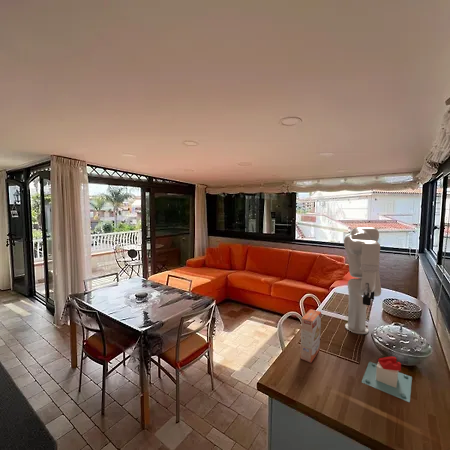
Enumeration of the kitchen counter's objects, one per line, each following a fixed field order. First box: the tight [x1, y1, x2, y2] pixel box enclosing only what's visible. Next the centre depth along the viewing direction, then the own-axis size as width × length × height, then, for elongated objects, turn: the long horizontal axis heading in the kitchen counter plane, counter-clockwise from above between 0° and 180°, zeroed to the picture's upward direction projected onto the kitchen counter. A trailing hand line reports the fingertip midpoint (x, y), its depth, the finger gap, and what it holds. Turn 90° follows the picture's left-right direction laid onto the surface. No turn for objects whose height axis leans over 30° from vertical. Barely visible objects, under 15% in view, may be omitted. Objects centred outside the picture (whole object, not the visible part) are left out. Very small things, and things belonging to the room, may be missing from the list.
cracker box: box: [299, 309, 322, 363], centre depth 119 cm, size 14×6×21 cm, turn 142°
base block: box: [376, 362, 399, 388], centre depth 100 cm, size 7×7×6 cm
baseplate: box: [361, 361, 413, 403], centre depth 100 cm, size 18×16×2 cm
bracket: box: [377, 356, 402, 372], centre depth 99 cm, size 6×5×3 cm
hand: (368, 301), depth 115 cm, fingers open, 9 cm apart
